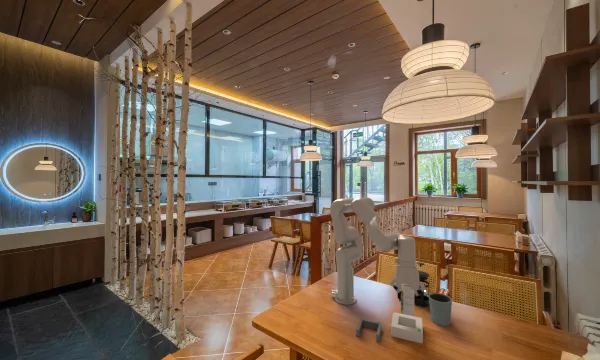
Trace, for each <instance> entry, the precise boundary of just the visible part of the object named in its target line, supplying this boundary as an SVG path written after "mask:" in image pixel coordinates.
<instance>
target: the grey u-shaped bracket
mask: <svg viewBox="0 0 600 360" xmlns="http://www.w3.org/2000/svg"><path fill="white" fill-rule="evenodd" d="M363 327H364V328H369V329H374V330H376V333H375V335H376V336H375V337H376V338H375V340H376V342H378V343H379V342H380V339H381V335H382V331H383V323H382V322H378V321H374V320H371V319H370V320H369V319H366V318H361V317H360V319H359V322H358V325H357V327H356V330H355V332H356V337H360V336H361V333H362V330H363Z"/></svg>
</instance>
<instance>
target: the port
mask: <svg viewBox="0 0 600 360" xmlns="http://www.w3.org/2000/svg"><path fill="white" fill-rule="evenodd" d="M390 326H391V327H390V329H391V330H390V336H391V337H394V338H398V339H401V340H402V339H403V340H405V341H410V342H414V343H417V344H422V345H423V344H424V343H423V342H424V333H423V332H424V330H423V329H424V328H423V318H422V317H418V316H415V315H414V316H412V315H405V314H401V312H400V313H399V312H395V311H394V312H393V313H392V319H391V325H390Z"/></svg>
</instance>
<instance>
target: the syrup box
mask: <svg viewBox="0 0 600 360" xmlns="http://www.w3.org/2000/svg"><path fill="white" fill-rule="evenodd" d="M400 291H401V301H400V314H405V315H410V316H415V304H414V290H411V288H410V286H409V284H408V285H407V283H406V284H405V283H401V290H400Z"/></svg>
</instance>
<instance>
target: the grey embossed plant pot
mask: <svg viewBox="0 0 600 360" xmlns="http://www.w3.org/2000/svg"><path fill="white" fill-rule="evenodd" d="M429 303H430V305H429V311H430V319H431V321H432V322H433V323H434V324H436V325H437V326H442V327H449V326H450V325H451V323H452V305H453V300H452V298H451V297H450V296H448V295H446V294H443V293H439V292H436V293H435V292H431V293H429Z"/></svg>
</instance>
